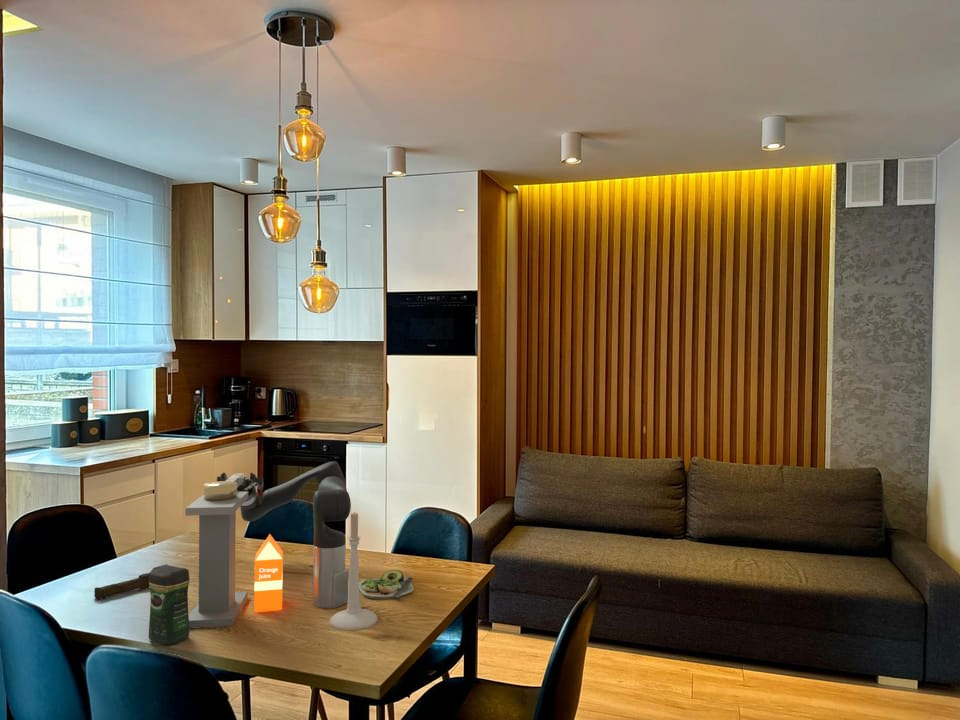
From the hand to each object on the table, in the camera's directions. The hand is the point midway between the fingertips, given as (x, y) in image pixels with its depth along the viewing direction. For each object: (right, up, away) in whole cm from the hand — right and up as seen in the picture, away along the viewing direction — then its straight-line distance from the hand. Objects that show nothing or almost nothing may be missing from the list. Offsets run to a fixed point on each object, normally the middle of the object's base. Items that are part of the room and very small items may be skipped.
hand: (237, 475), depth 219 cm
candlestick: (+43, -35, -31) cm, 63 cm away
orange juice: (+16, -35, -19) cm, 43 cm away
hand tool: (-31, -35, -8) cm, 47 cm away
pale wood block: (+2, -3, -12) cm, 12 cm away
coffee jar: (-2, -35, -43) cm, 56 cm away
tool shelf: (+3, -35, -25) cm, 43 cm away
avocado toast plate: (+48, -36, -4) cm, 60 cm away
